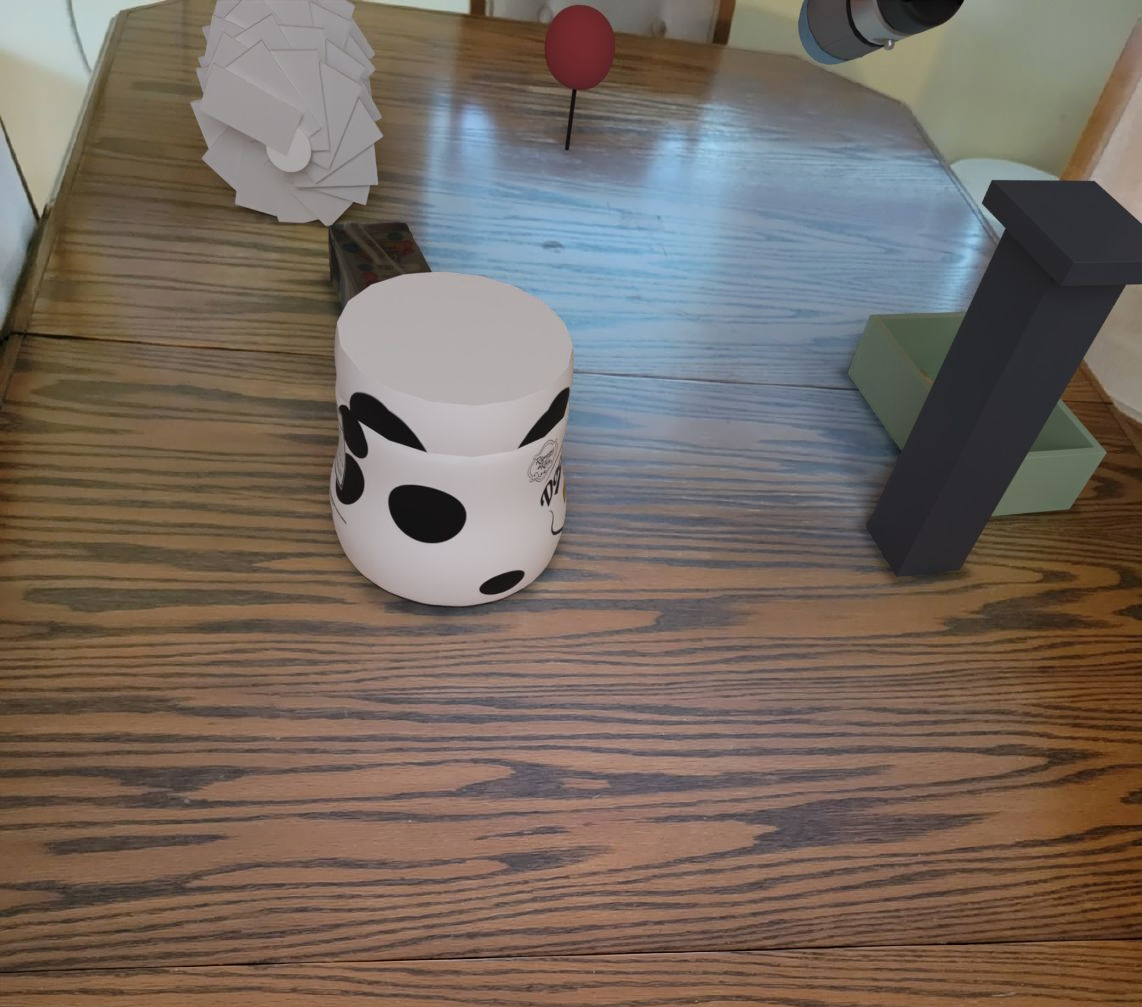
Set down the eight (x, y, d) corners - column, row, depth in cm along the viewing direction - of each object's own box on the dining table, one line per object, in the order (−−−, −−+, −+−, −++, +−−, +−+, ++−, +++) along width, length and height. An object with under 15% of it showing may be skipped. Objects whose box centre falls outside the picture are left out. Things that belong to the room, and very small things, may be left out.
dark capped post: (978, 592, 85) (1183, 260, 62) (893, 601, 83) (1073, 262, 60) (924, 511, 90) (1094, 180, 68) (843, 518, 88) (991, 179, 66)
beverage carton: (408, 278, 102) (409, 211, 96) (465, 394, 92) (468, 326, 86) (328, 284, 99) (324, 215, 94) (377, 403, 89) (375, 334, 84)
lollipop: (576, 177, 119) (595, 27, 107) (522, 153, 121) (535, 3, 109) (610, 157, 123) (632, 10, 111) (558, 134, 125) (574, -12, 113)
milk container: (603, 562, 81) (645, 355, 67) (435, 665, 72) (443, 454, 58) (457, 449, 87) (467, 237, 73) (286, 532, 78) (260, 311, 64)
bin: (845, 378, 101) (870, 314, 96) (955, 373, 104) (985, 310, 99) (945, 525, 89) (980, 461, 84) (1066, 514, 93) (1107, 452, 87)
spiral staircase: (335, 174, 120) (344, 278, 105) (181, 91, 111) (166, 192, 96) (401, 12, 109) (422, 102, 94) (236, -94, 100) (229, -14, 85)
